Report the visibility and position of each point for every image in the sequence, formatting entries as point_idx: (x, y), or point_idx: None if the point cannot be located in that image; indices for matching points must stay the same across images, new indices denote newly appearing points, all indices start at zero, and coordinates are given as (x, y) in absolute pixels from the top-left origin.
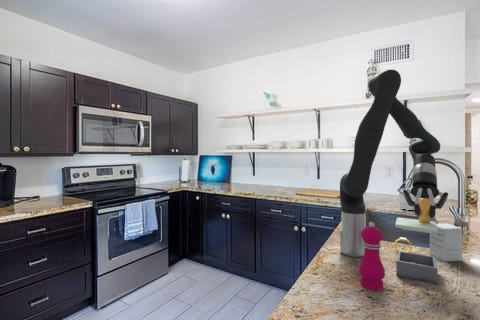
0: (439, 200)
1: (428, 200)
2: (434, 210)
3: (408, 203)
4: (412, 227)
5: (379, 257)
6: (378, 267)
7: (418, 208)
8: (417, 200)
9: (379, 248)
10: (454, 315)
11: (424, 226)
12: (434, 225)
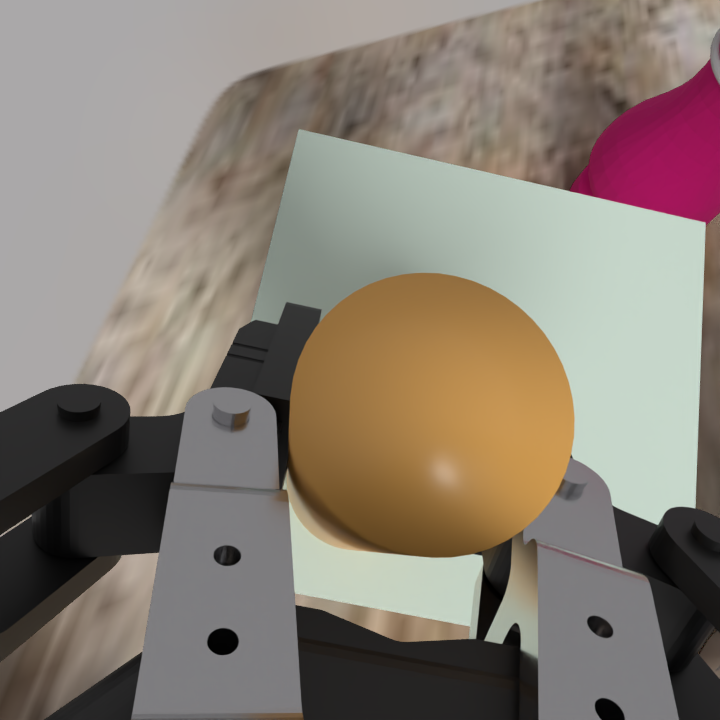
0: (34, 468)
1: (365, 296)
2: (238, 363)
3: (695, 656)
4: (533, 190)
5: (674, 101)
6: (649, 100)
7: None
8: (568, 535)
9: (718, 32)
10: (308, 58)
11: (408, 229)
12: (276, 321)
